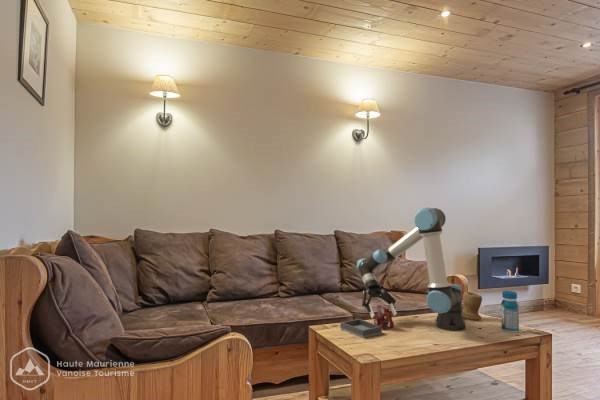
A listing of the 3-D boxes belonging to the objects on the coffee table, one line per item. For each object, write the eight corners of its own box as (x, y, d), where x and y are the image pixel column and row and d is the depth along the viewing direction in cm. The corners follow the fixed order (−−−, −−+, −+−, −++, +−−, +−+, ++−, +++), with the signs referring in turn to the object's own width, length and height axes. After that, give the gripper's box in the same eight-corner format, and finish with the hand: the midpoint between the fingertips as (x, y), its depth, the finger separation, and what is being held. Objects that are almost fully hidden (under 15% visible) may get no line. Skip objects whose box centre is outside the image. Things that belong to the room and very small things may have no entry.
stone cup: (487, 319, 218) (486, 293, 219) (473, 322, 212) (473, 295, 213) (464, 313, 231) (464, 288, 232) (451, 315, 226) (451, 290, 226)
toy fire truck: (385, 331, 196) (385, 310, 196) (372, 324, 207) (372, 305, 207) (396, 329, 198) (396, 309, 199) (382, 323, 210) (382, 304, 210)
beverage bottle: (510, 333, 193) (510, 294, 193) (497, 328, 201) (496, 290, 201) (523, 331, 195) (522, 293, 196) (509, 327, 203) (508, 290, 204)
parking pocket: (381, 333, 191) (381, 326, 191) (362, 338, 184) (362, 330, 184) (358, 325, 205) (358, 318, 205) (340, 329, 198) (340, 322, 198)
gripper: (387, 285, 223) (401, 317, 208) (349, 287, 215) (361, 321, 201) (392, 277, 218) (407, 310, 204) (353, 280, 210) (366, 314, 196)
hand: (384, 315), depth 202 cm, fingers open, 13 cm apart
